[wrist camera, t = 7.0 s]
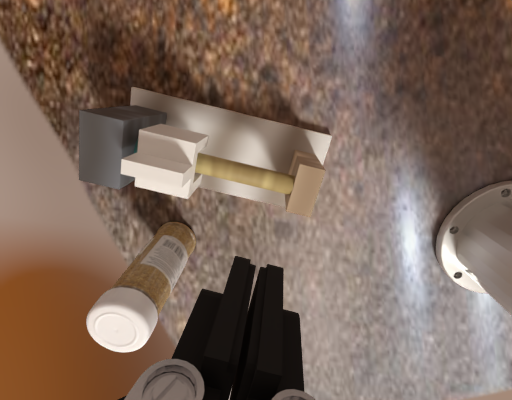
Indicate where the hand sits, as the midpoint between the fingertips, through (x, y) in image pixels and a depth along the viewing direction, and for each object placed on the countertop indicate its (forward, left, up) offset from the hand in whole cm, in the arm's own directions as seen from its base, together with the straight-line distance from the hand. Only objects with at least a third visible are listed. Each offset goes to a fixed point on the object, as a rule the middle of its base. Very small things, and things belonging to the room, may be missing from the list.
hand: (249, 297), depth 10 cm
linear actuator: (+4, 0, -20) cm, 21 cm away
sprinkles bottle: (+8, +11, -20) cm, 24 cm away
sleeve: (+7, 0, -15) cm, 17 cm away
